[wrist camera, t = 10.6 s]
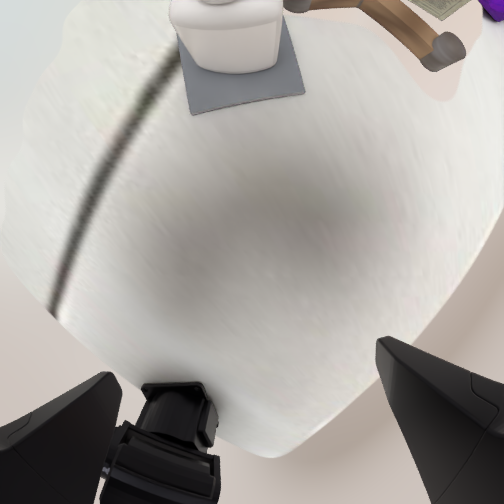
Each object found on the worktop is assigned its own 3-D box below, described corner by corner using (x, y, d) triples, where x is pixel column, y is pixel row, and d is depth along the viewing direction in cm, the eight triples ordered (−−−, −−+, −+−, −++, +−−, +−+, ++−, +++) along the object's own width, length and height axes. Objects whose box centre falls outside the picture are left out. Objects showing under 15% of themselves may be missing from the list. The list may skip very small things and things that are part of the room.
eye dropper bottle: (255, 95, 17) (246, -5, 6) (187, 63, 17) (114, -32, 5) (287, 50, 16) (312, -64, 5) (220, 20, 15) (185, -90, 4)
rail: (302, 71, 17) (311, 49, 13) (276, -10, 15) (278, -38, 11) (443, 73, 16) (469, 61, 12) (412, -3, 14) (431, -22, 10)
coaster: (192, 115, 18) (190, 113, 18) (177, 28, 16) (175, 25, 16) (303, 93, 18) (305, 91, 17) (279, 8, 16) (279, 4, 15)
